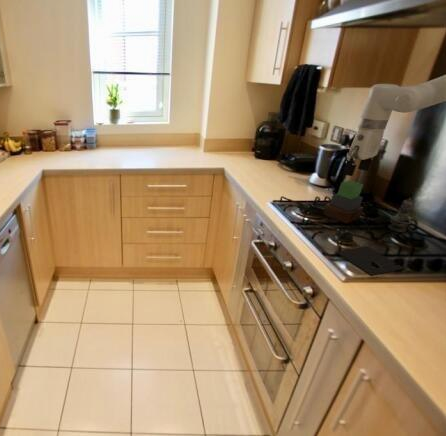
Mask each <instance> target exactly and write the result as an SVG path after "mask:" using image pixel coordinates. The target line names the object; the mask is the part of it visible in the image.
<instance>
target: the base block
mask: <svg viewBox="0 0 446 436" xmlns="http://www.w3.org/2000/svg"><path fill="white" fill-rule="evenodd" d="M330 203H331V201H330V202H327V203H325V205H324V208H323V211H322V215H324V216H325V217H327V218H331V219H333V220H336V221H338V222H341V223H344V224H349V223H351V222H353V221H356V220H359V219H360V218H361V216H362V215H363V214H362V213H363V211H364V208H365V207H364V206H361V205H360V207H358V208H356V209H353V210H351V211H347V210H344V209H342V208H339V207H336V206H333V205H331V204H330Z"/></svg>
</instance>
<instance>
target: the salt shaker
mask: <svg viewBox="0 0 446 436" xmlns="http://www.w3.org/2000/svg"><path fill="white" fill-rule="evenodd" d="M414 206H415V202H414V200H412V197H409V198H408V199H403V201H402V203H401V205H400V207H398V212H397V214H396V215H391V216H390V224H388V225H387V228H389V229H390V230H392V231H395V232H399V233H404V232H407V227H408V226H409V225H411V224H412V222H413V221H412V220H411V219H410V218H409V217H410V214H411V213H412V212H413V210H412V209H413V207H414Z"/></svg>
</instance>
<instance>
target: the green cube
mask: <svg viewBox="0 0 446 436" xmlns="http://www.w3.org/2000/svg"><path fill="white" fill-rule="evenodd" d="M363 186H364V184H363V183H360V182H357V181H353V180H350V179H348V180H346V181H345V180H344V181H342V182H341V183H340V185H339V187H338V192H337V193H338V195H339V196H342V197H345V198H347V199H350V200H352V199H354V198H357V197H359V196H361V192H362V189H363Z"/></svg>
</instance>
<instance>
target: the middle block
mask: <svg viewBox="0 0 446 436" xmlns="http://www.w3.org/2000/svg"><path fill="white" fill-rule="evenodd" d="M363 199H364V197H363V196H362V195H359V197H357V198H354V199H352V200H350V199H347V198H345V197H342V196H339V195H338V192H337V193H334V194H332V196H331V200H330V202H331V203H330V202H329V203H330V204H331V205H333V206H336V207H339V208H342V209H344V210H347V211H351V210H353V209H356V208H358V207H360V206H361V204H362V202H363Z"/></svg>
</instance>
